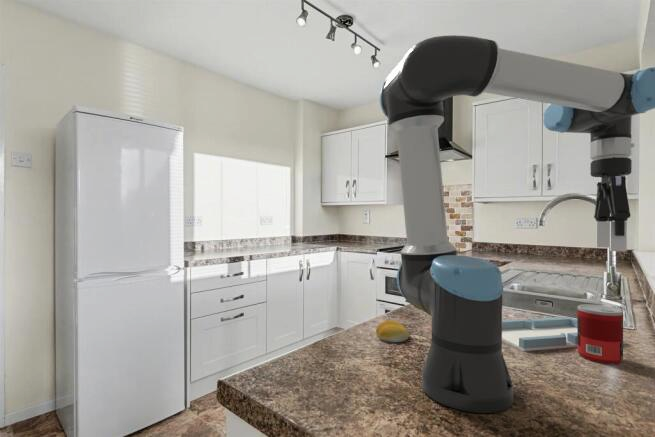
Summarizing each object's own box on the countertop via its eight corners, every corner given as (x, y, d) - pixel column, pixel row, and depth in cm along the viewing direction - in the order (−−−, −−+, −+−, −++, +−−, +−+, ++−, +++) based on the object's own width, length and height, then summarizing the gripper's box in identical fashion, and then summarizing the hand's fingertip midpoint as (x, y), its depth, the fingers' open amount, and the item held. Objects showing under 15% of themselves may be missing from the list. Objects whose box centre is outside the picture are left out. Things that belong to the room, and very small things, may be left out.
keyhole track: (523, 351, 81) (523, 340, 81) (482, 331, 96) (482, 321, 96) (620, 343, 86) (620, 332, 86) (567, 325, 101) (567, 316, 101)
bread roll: (380, 344, 86) (380, 327, 86) (373, 332, 95) (373, 317, 95) (413, 343, 87) (413, 327, 87) (403, 331, 96) (403, 317, 96)
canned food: (631, 366, 73) (631, 313, 73) (588, 363, 74) (588, 311, 74) (609, 352, 80) (609, 304, 80) (571, 350, 82) (570, 303, 82)
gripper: (650, 147, 69) (649, 254, 69) (616, 165, 92) (615, 246, 91) (603, 150, 73) (602, 252, 73) (581, 167, 95) (580, 245, 95)
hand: (610, 249), depth 82 cm, fingers open, 13 cm apart
